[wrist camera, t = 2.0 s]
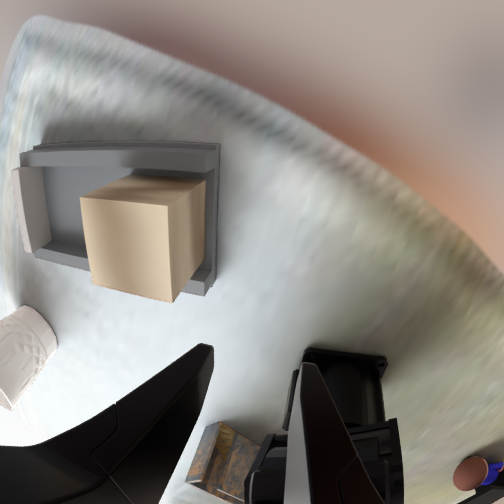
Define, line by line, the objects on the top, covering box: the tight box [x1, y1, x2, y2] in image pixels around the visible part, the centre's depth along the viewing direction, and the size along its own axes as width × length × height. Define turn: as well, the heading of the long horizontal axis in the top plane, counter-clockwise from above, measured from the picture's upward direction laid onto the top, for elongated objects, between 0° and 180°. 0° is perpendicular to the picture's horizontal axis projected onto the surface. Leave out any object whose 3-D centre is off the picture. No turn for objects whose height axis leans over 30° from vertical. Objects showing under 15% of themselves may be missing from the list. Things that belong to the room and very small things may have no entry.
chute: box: [11, 141, 220, 296], centre depth 19 cm, size 15×9×3 cm, turn 86°
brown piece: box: [185, 421, 261, 504], centre depth 26 cm, size 11×3×10 cm, turn 48°
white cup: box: [0, 305, 58, 411], centre depth 25 cm, size 8×8×10 cm
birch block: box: [80, 174, 206, 303], centre depth 17 cm, size 5×5×5 cm
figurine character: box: [453, 456, 504, 504], centre depth 24 cm, size 7×8×15 cm
